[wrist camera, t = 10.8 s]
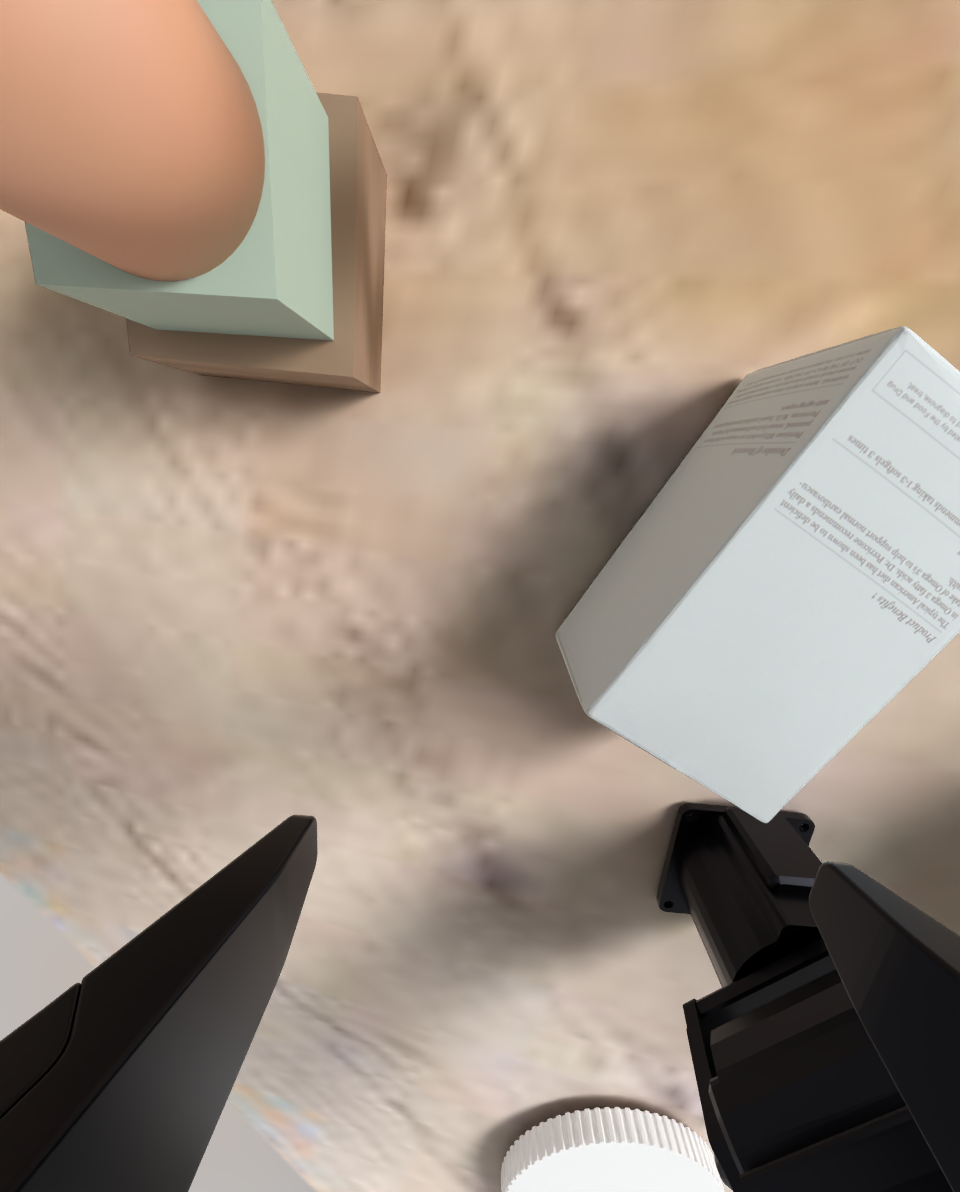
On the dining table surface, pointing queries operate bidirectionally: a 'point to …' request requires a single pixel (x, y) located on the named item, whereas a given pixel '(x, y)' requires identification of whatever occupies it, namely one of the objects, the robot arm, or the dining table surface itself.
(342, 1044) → the dining table surface
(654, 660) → the supplement box
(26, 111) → the brown oval piece
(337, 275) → the bottom block
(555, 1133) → the plastic lid
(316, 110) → the top block
